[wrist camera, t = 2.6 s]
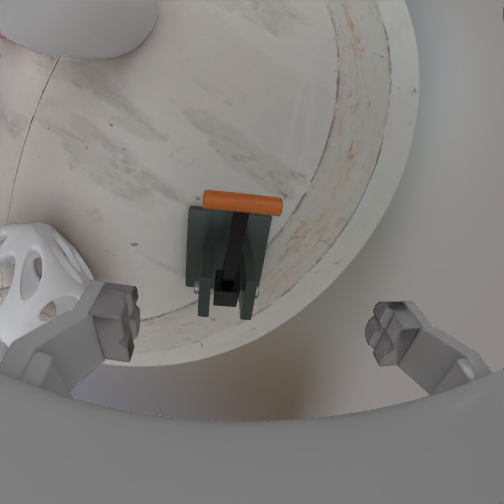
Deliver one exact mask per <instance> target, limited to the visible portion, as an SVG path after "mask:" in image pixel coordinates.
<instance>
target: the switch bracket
mask: <svg viewBox="0 0 504 504" xmlns="http://www.w3.org/2000/svg"><path fill="white" fill-rule="evenodd" d="M231 214H232V211H224V210H214V209H204V208H203V207H197V206H190V209H189V219H188V237H187V261H186V286H188V287H194V293H195V294H199V299H198V316H201V317H208V316H209V302H210V289H211V288H212V289H214V285H215V276H216V269H220V270H223V265H224V258H225V252H226V245H227V239H228V233H229V226H230V220H231ZM271 219H272V217H271V215H263V214H254V213H250V216H249V220H248V225H247V229H246V233H245V238H244V242H243V247H242V251H241V255H240V260H239V264H238V269H237V271H240V294H239V308H240V319H243V320H251V316H252V311H253V305H254V300H255V298H257V297H258V294H259V283H260V278H261V272H262V267H263V262H264V256H265V251H266V246H267V240H268V235H269V229H270V224H271Z"/></svg>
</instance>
